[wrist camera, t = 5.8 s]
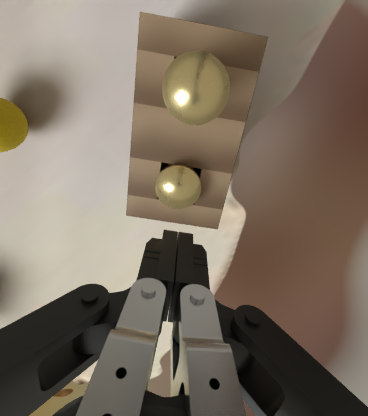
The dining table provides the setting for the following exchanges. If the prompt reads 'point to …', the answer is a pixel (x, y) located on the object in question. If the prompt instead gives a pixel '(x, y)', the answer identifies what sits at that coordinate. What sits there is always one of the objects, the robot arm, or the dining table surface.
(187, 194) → the far peg
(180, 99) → the near peg
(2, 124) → the lemon
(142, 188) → the brown wooden block
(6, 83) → the dining table surface
